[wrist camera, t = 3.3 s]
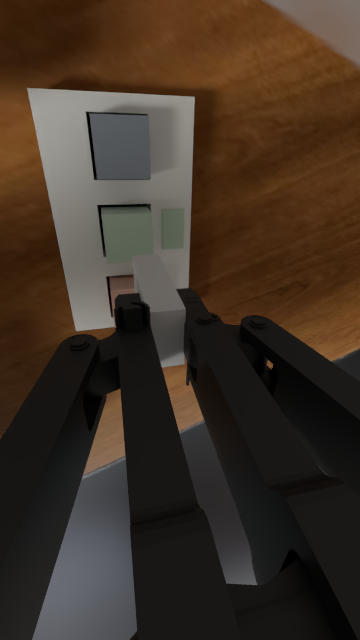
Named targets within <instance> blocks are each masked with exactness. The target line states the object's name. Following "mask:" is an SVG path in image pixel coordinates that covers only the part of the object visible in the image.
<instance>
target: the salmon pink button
mask: <svg viewBox="0 0 360 640" xmlns="http://www.w3.org/2000/svg"><path fill="white" fill-rule="evenodd" d="M109 280H110V292H111V300H112V309H113V317H114V326H115V328H116V325H115V316H114V309H115V301H114V300H115V298H116V297H117V296H118V295H119V294H131V293H135V288H134V275H126V276H112V277H109Z"/></svg>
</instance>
